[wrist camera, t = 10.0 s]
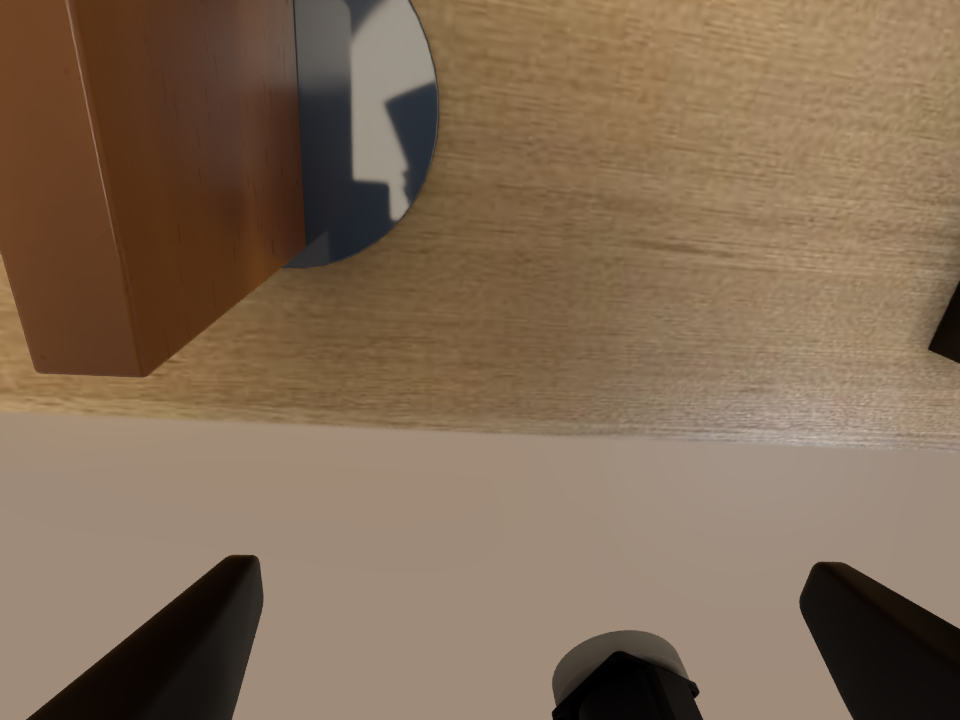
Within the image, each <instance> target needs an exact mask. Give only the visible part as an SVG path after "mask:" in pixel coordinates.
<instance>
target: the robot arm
mask: <svg viewBox="0 0 960 720" xmlns="http://www.w3.org/2000/svg"><path fill="white" fill-rule="evenodd" d="M799 603H800V610H801V612H802V615H803V617H804V619H805V622H806V624H807V626H808V628H809V630H810V632H811V634H812V636H813V638H814V640H815V643H816V645H817V647H818V649H819V651H820V653H821V655H822V657H823V659H824V661H825V663H826V666H827V667H828V669H829V672H830V674H831V676H832V678H833V680H834V682H835V684H836V686H837V688H838V690H839V693H840V695H841V697H842V699H843V701H844V703H845V705H846V707H847V708H848V711H849V712H850V714H851V716H852V717H853V719H854V720H960V629H959V628H957V627H955V626H954V625H952V624H950V623H948V622H946V621H945V620H943V619H941V618H939V617H938V616H936V615H934V614H933V613H931V612H929V611H927V610H926V609H924V608H922V607H920V606H919V605H917V604H915V603H913V602H912V601H910V600H908V599H906V598H905V597H903V596H901V595H899V594H898V593H896V592H894V591H892V590H890V589H889V588H887V587H885V586H884V585H882V584H880V583H878V582H877V581H875V580H873V579H872V578H870V577H868V576H866V575H865V574H863V573H861V572H859V571H857V570H856V569H854V568H852V567H850V566H849V565H847V564H845V563H841V562H818V563H816V564H815V565H814V566H813V567H812V569H811V571H810V574H809V576H808V579H807V581H806V584H805V586H804V588H803V591H802V593H801V596H800V601H799ZM262 607H263V587H262V579H261V571H260V563H259V559H258V557H256V556H254V555H231V556H228V557H226V558H225V559H223V560H222V561H221V562H220V563H218V564H217V565H216V566H215V567H214V568H212V569H211V570H210V571H208V572H207V573H206V574H205V575H204V576H202V577H201V578H200V579H199V580H197V581H196V582H195V583H194V584H193V585H191V586H190V587H189V588H188V589H186V590H185V591H184V592H183V593H181V594H180V595H179V596H178V597H176V598H175V599H174V600H173V601H172V602H170V603H169V604H168V605H167V606H166V607H164V608H163V609H162V610H161V611H160V612H158V613H157V614H156V615H154V616H153V617H152V618H151V619H150V620H148V621H147V622H146V623H144V624H143V625H142V626H141V627H140V628H138V629H137V630H136V631H135V632H133V633H132V634H131V635H130V636H129V637H127V638H126V639H125V640H124V641H122V642H121V643H120V644H119V645H117V646H116V647H115V648H114V649H112V650H111V651H110V652H109V653H108V654H106V655H105V656H104V657H103V658H102V659H100V660H99V661H98V662H96V663H95V664H94V665H93V666H92V667H91V668H89V669H88V670H87V671H85V672H84V673H83V674H82V675H81V676H79V677H78V678H77V679H76V680H74V681H73V682H72V683H71V684H69V685H68V686H67V687H66V688H65V689H63V690H62V691H61V692H60V693H58V694H57V695H56V696H55V697H54V698H52V699H51V700H50V701H49V702H48V703H46V704H45V705H44V706H42V707H41V708H40V709H39V710H37V711H36V712H35V713H34V714H33V715H31V716H30V717H29V718H28V719H26V720H232V717H233V713H234V710H235V706H236V703H237V700H238V696H239V692H240V689H241V685H242V681H243V677H244V674H245V670H246V667H247V663H248V659H249V656H250V652H251V649H252V645H253V641H254V638H255V634H256V630H257V627H258V623H259V619H260V616H261V612H262ZM699 693H700V692H699V689H698V687H697V685H696V683H695V682H693V681H690V680H688V679H686V678H684V677H681V676H679V675H677V674H675V673H672V672H670V671H668V670H665V669H663V668H661V667H659V666H656V665H654V664H652V663H649V662H647V661H645V660H643V659H640V658H638V657H636V656H633V655H631V654H629V653H627V652H624V651H616V652H614V653H612V654H611V655H610V656H609V657H608V658H607V659H606V660H605V661H604V662H603V663H602V664H601V665H600V666H599V667H597V668H596V669H595V670H594V671H593V672H592V673H591V674H590V675H589V676H588V677H587V678H586V679H585V680H584V681H583V682H582V683H581V684H580V685H579V686H578V687H577V688H576V689H575V690H574V691H572V692H571V693H570V694H569V695H568V696H567V697H566V698H565V699H564V700H563V701H562V702H561V703H560V704H559V705H558V706H557V707H556V708H555V709H554V710H553V711H552V718H553V720H703V718H702V716H701V714H700V711H699V709H698V707H697V705H696V702H695V700H694V699H695V698H696V697H697V696H698V695H699Z"/></svg>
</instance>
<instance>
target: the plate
mask: <svg viewBox="0 0 960 720" xmlns="http://www.w3.org/2000/svg"><path fill="white" fill-rule="evenodd" d="M293 14H294V32H295V51H296V70H297V88H298V107H299V125H300V144H301V162H302V181H303V200H304V218H305V237H306V248H305V249H304V250H303V251H302V252H300V253H299V254H298V255H297V256H295V257H294V258H293V259H292V260H290V261H289V262H288V263H287V264H285V265H284V266H283V267H282V268H284V269H291V268H310V267H317V266H324V265H328V264H331V263H335V262H338V261H342V260H344V259H347V258H349V257H351V256H353V255H356V254H358V253H360V252H362V251H364V250H365V249H367V248H368V247H370V246H372V245H373V244H375V243H376V242H378V241H379V240H380V239H381V238H382V237H384V236H385V235H386V234H387V233H389V232H390V231H391V230H392V229H393V228H394V227H395V226H396V225H397V223H398V222H399V221H400V220H401V219H402V218H403V217H404V216H405V214H406V213H407V211H408V210H409V208H410V207H411V206H412V204H413V203H414V201H415V200H416V198H417V196H418V194H419V192H420V190H421V188H422V186H423V184H424V182H425V180H426V177H427V175H428V172H429V169H430V166H431V163H432V160H433V157H434V152H435V147H436V143H437V138H438V127H439V91H438V84H437V77H436V70H435V65H434V61H433V57H432V54H431V50H430V46H429V42H428V40H427V37H426V34H425V32H424V29H423V27H422V24H421V22H420V19H419V17H418V15H417V13H416V11H415V9H414V7H413V5H412V3H411V1H410V0H293Z"/></svg>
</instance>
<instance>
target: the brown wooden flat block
mask: <svg viewBox="0 0 960 720" xmlns="http://www.w3.org/2000/svg"><path fill="white" fill-rule="evenodd" d="M305 248H306V237H305V218H304V200H303V181H302V162H301V144H300V125H299V107H298V88H297V70H296V51H295V32H294V14H293V0H0V251H1V254H2V258H3V261H4V265H5V268H6V272H7V275H8V278H9V282H10V285H11V289H12V292H13V296H14V299H15V303H16V306H17V310H18V313H19V316H20V320H21V323H22V327H23V330H24V334H25V337H26V341H27V344H28V347H29V351H30V354H31V358H32V361H33V365H34V368H35V370H36V371H37V372H38V373H44V374H69V375H93V376H117V377H146V376H148V375H149V374H151V373H152V372H153V371H154V370H156V369H157V368H158V367H159V366H161V365H162V364H163V363H164V362H166V361H167V360H168V359H169V358H171V357H172V356H173V355H174V354H175V353H177V352H178V351H179V350H180V349H182V348H183V347H184V346H185V345H187V344H188V343H189V342H190V341H192V340H193V339H194V338H195V337H196V336H198V335H199V334H200V333H201V332H203V331H204V330H205V329H206V328H208V327H209V326H210V325H211V324H213V323H214V322H215V321H216V320H217V319H219V318H220V317H221V316H222V315H224V314H225V313H226V312H227V311H229V310H230V309H231V308H232V307H234V306H235V305H236V304H237V303H238V302H240V301H241V300H242V299H243V298H245V297H246V296H247V295H248V294H250V293H251V292H252V291H253V290H255V289H256V288H257V287H258V286H259V285H261V284H262V283H263V282H264V281H266V280H267V279H268V278H269V277H271V276H272V275H273V274H274V273H276V272H277V271H278V270H279V269H280V268H282V267H283V266H284V265H285V264H287V263H288V262H289V261H290V260H292V259H293V258H294V257H295V256H297V255H298V254H299V253H300V252H302V251H303V250H304V249H305Z"/></svg>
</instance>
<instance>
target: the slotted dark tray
mask: <svg viewBox="0 0 960 720" xmlns="http://www.w3.org/2000/svg"><path fill="white" fill-rule="evenodd" d="M929 350H930V351H932V352H935V353H937V354H939V355H941V356H944V357H946V358H948V359H951V360H953V361H955V362H957V363H960V284H959V286H958V288H957V290H956V293H955V295H954V297H953V299H952V301H951V303H950V305H949V308H948V310H947V312H946V314H945V316H944V318H943V321H942V323H941V325H940V327H939V329H938V331H937V333H936V336H935V338H934V340H933V342H932V344H931V346H930V348H929Z"/></svg>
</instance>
